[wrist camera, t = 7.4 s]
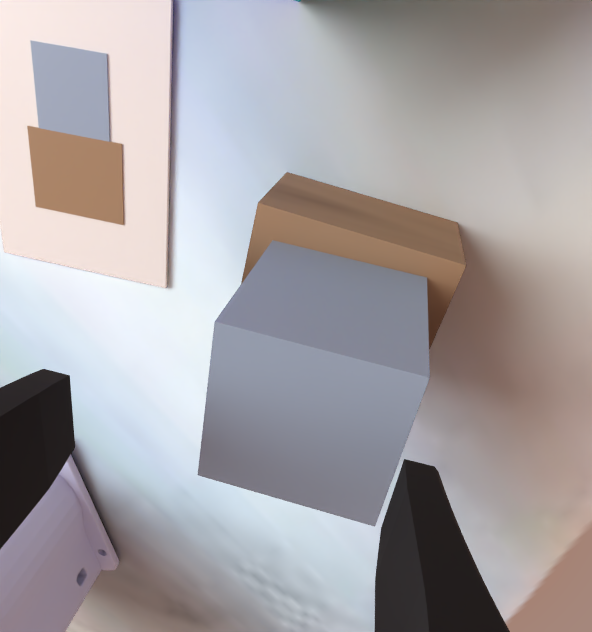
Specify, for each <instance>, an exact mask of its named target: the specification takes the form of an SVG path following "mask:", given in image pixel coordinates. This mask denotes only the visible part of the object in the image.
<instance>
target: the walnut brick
mask: <svg viewBox="0 0 592 632" xmlns="http://www.w3.org/2000/svg"><path fill="white" fill-rule="evenodd" d="M272 240H274V241H278V242H282V243H286V244H291V245H295V246H299V247H303V248H307V249H311V250H315V251H319V252H324V253H328V254H332V255H336V256H340V257H344V258H348V259H352V260H357V261H361V262H365V263H369V264H373V265H377V266H381V267H385V268H390V269H394V270H398V271H402V272H406V273H410V274H414V275H418V276H423V277H427V296H428V332H429V349H430V347H431V344H432V342H433V340H434V338H435V335H436V333H437V331H438V329H439V326H440V324H441V322H442V320H443V317H444V315H445V313H446V310H447V308H448V306H449V304H450V301H451V299H452V297H453V295H454V292H455V290H456V288H457V285H458V283H459V281H460V279H461V276H462V274H463V272H464V270H465V267H466V261H465V257H464V252H463V247H462V242H461V238H460V233H459V228H458V223H457V222H454V221H450V220H447V219H444V218H440V217H437V216H434V215H430V214H427V213H423V212H420V211H417V210H413V209H410V208H407V207H403V206H400V205H396V204H393V203H390V202H386V201H383V200H379V199H376V198H373V197H369V196H366V195H363V194H359V193H356V192H352V191H349V190H346V189H342V188H339V187H336V186H332V185H329V184H325V183H322V182H319V181H315V180H312V179H308V178H305V177H302V176H298V175H295V174H292V173H288V172H287V173H286V174H285V175H284V176H283V177H282V178H281V179H280V180H279V181H278V182H277V183H276V184H275V185H274V186H273V187H272V189H271V190H270V191H269V192H268V193H267V194H266V195H265V196H264V197H263V198H262V199H261V200H260V201H259V202H258V206H257V210H256V215H255V220H254V225H253V230H252V235H251V239H250V244H249V249H248V254H247V259H246V264H245V268H244V273H243V278H242V283H243V281H244V280H245V278H246V277H247V276H248V274H249V273H250V271H251V270H252V269H253V267H254V266H255V264H256V263H257V262H258V260H259V259H260V257H261V256H262V255H263V253H264V252H265V250H266V249H267V248H268V246H269V245H270V243H271V242H272ZM242 283H241V284H242Z"/></svg>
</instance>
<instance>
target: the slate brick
mask: <svg viewBox="0 0 592 632" xmlns="http://www.w3.org/2000/svg"><path fill="white" fill-rule="evenodd" d="M429 378H430V368H429V332H428V296H427V277H423V276H418V275H414V274H410V273H406V272H402V271H398V270H394V269H390V268H385V267H381V266H377V265H373V264H369V263H365V262H361V261H357V260H352V259H348V258H344V257H340V256H336V255H332V254H328V253H324V252H319V251H315V250H311V249H307V248H303V247H299V246H295V245H291V244H286V243H282V242H278V241H274V240H272V242H271V243H270V245H269V246H268V248H267V249H266V250H265V252H264V253H263V255H262V256H261V257H260V259H259V260H258V262H257V263H256V264H255V266H254V267H253V269H252V270H251V271H250V273H249V274H248V276H247V277H246V278H245V280H244V281H243V283H242V284H241V286H240V287H239V288H238V290H237V291H236V293H235V294H234V295H233V297H232V298H231V300H230V301H229V302H228V304H227V305H226V307H225V308H224V309H223V311H222V312H221V314H220V315H219V317H218V318H217V319H216V321H215V324H214V333H213V342H212V351H211V360H210V369H209V378H208V387H207V396H206V405H205V414H204V423H203V432H202V441H201V450H200V459H199V468H198V475H199V476H203V477H206V478H209V479H213V480H216V481H220V482H223V483H227V484H230V485H234V486H237V487H241V488H244V489H247V490H251V491H254V492H258V493H261V494H265V495H268V496H272V497H275V498H279V499H282V500H285V501H289V502H292V503H296V504H299V505H303V506H306V507H310V508H313V509H317V510H320V511H323V512H327V513H330V514H334V515H337V516H341V517H344V518H348V519H351V520H355V521H358V522H361V523H365V524H368V525H372V526H375V525H376V522H377V519H378V517H379V514H380V511H381V508H382V506H383V503H384V500H385V498H386V495H387V492H388V489H389V487H390V484H391V481H392V479H393V476H394V473H395V470H396V468H397V465H398V462H399V460H400V457H401V454H402V452H403V449H404V446H405V443H406V441H407V438H408V435H409V433H410V430H411V427H412V424H413V422H414V419H415V416H416V414H417V411H418V408H419V406H420V403H421V400H422V397H423V395H424V392H425V389H426V387H427V384H428V381H429Z"/></svg>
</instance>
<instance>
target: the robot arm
mask: <svg viewBox="0 0 592 632" xmlns="http://www.w3.org/2000/svg"><path fill="white" fill-rule="evenodd" d="M74 448H75V441H74V428H73V415H72V402H71V388H70V375H66V374H62V373H58V372H54V371H50V370H46V369H42V370H39V371H37V372H35V373H32V374H30V375H27V376H25V377H23V378H21V379H19V380H16V381H14V382H12V383H10V384H8V385H5V386H3V387H1V388H0V632H65V631H66V629H67V628H68V626H69V624H70V623H71V621H72V619H73V617H74V616H75V614H76V612H77V611H78V609H79V607H80V606H81V604H82V602H83V601H84V599H85V597H86V595H87V594H88V592H89V590H90V589H91V587H92V585H93V584H94V582H95V580H96V578H97V577H98V575H99V573H100V572H101V570H115V569H116V568H117V566H118V564H119V559H118V557H117V555H116V553H115V551H114V548H113V546H112V544H111V542H110V540H109V537H108V535H107V533H106V531H105V529H104V526H103V524H102V522H101V520H100V518H99V515H98V513H97V511H96V509H95V507H94V504H93V502H92V500H91V498H90V496H89V493H88V491H87V489H86V487H85V485H84V482H83V480H82V478H81V476H80V474H79V471H78V469H77V467H76V465H75V463H74V460H73V458H72V456H71V453H72V451H73V450H74ZM375 632H510V631H509V630H508V628H507V626H506V624H505V622H504V620H503V618H502V616H501V614H500V613H499V611H498V609H497V607H496V605H495V603H494V601H493V599H492V597H491V595H490V593H489V591H488V589H487V587H486V585H485V583H484V581H483V579H482V577H481V575H480V573H479V571H478V568H477V566H476V564H475V562H474V560H473V557H472V555H471V553H470V551H469V549H468V546H467V544H466V542H465V540H464V537H463V535H462V533H461V530H460V528H459V526H458V523H457V521H456V518H455V516H454V513H453V511H452V508H451V506H450V503H449V500H448V498H447V495H446V492H445V490H444V487H443V484H442V481H441V478H440V475H439V472H438V471H437V469H436V468H435V467H434V466H430V465H426V464H422V463H418V462H414V461H410V460H406V459H404V462H403V465H402V468H401V471H400V474H399V477H398V480H397V483H396V486H395V489H394V492H393V495H392V498H391V501H390V504H389V507H388V510H387V513H386V516H385V519H384V522H383V525H382V527H381V535H380V543H379V551H378V560H377V569H376V578H375Z"/></svg>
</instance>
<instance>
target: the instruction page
mask: <svg viewBox="0 0 592 632" xmlns="http://www.w3.org/2000/svg"><path fill="white" fill-rule="evenodd" d="M172 32H173V0H0V226H1V233H2V240H3V247H4V252H5V253H10V254H14V255H19V256H23V257H28V258H32V259H37V260H41V261H46V262H50V263H55V264H59V265H64V266H68V267H73V268H77V269H82V270H87V271H91V272H96V273H100V274H105V275H109V276H114V277H118V278H123V279H127V280H132V281H136V282H141V283H145V284H150V285H154V286H159V287H163V288H166V287H167V266H168V219H169V173H170V126H171V79H172Z"/></svg>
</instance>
